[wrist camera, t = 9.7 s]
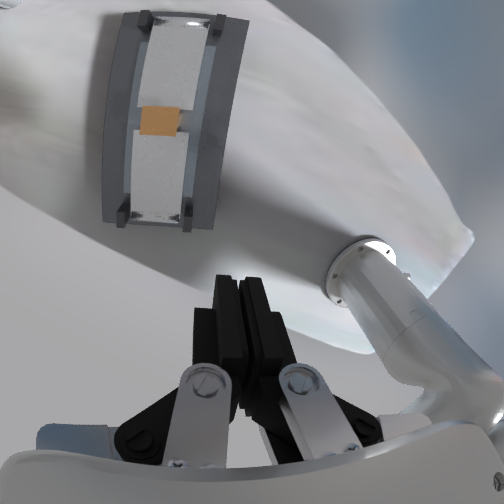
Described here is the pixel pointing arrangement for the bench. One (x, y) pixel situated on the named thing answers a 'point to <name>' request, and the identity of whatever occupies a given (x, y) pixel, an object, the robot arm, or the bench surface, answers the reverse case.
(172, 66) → the strap
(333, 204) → the bench surface
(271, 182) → the bench surface
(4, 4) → the photo printer
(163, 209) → the strap
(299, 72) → the bench surface
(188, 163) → the tray
